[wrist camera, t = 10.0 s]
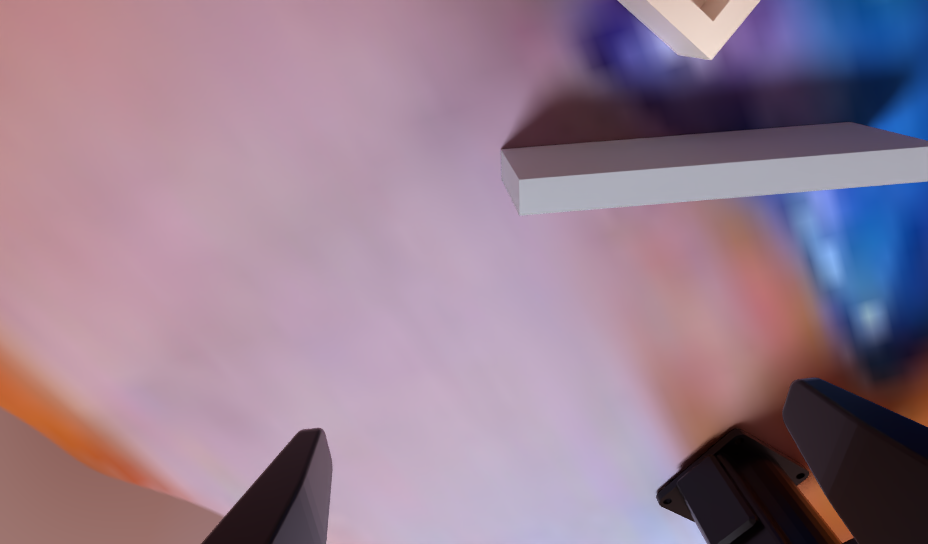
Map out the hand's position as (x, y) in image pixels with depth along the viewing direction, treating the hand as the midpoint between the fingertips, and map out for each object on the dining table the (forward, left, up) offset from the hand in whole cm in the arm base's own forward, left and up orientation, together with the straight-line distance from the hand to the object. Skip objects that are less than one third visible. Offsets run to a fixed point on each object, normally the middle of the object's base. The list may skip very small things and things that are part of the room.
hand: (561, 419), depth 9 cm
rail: (-5, -6, -12) cm, 14 cm away
